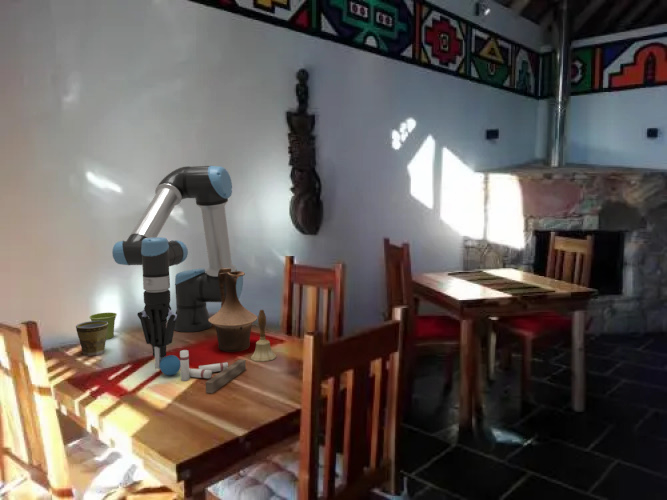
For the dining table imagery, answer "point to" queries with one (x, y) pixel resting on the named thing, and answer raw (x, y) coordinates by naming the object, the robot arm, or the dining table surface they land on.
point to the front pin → (200, 373)
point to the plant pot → (108, 318)
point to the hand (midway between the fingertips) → (160, 366)
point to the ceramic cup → (92, 337)
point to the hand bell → (262, 343)
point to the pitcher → (232, 315)
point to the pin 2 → (215, 367)
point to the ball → (170, 365)
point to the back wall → (225, 376)
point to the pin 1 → (184, 365)
